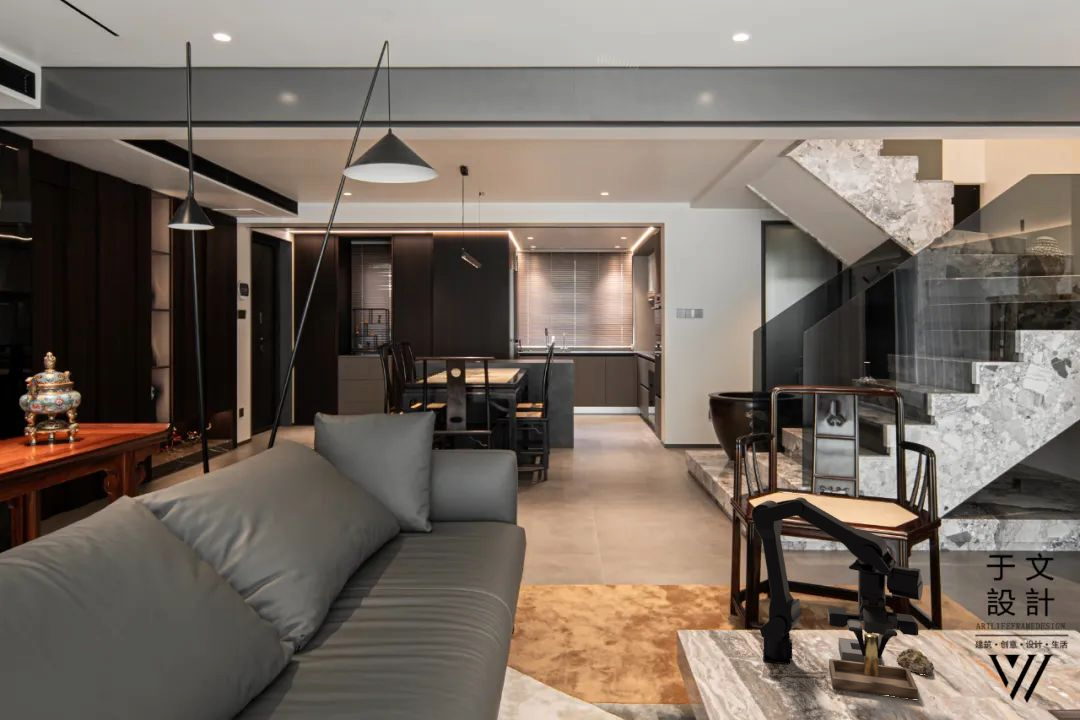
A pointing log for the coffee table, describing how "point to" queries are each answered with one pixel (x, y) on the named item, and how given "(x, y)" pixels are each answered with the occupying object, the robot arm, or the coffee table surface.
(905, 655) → the mineral rock
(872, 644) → the brass pin
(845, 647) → the block
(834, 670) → the walnut tray
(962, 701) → the coffee table surface
